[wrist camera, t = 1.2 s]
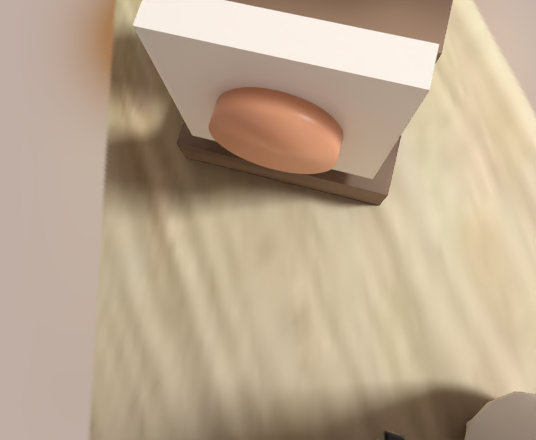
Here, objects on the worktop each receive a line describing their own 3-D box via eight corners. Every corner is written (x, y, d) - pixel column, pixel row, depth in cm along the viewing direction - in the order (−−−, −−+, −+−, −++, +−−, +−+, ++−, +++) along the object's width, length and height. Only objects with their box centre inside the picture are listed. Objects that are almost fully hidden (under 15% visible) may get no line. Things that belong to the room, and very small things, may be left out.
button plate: (368, 198, 19) (422, 121, 11) (186, 154, 20) (121, 53, 12) (379, 150, 20) (439, 44, 12) (201, 108, 21) (148, -16, 13)
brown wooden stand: (379, 205, 22) (419, 158, 15) (186, 157, 23) (144, 93, 17) (410, 67, 24) (459, -30, 17) (229, 29, 25) (206, -77, 18)
